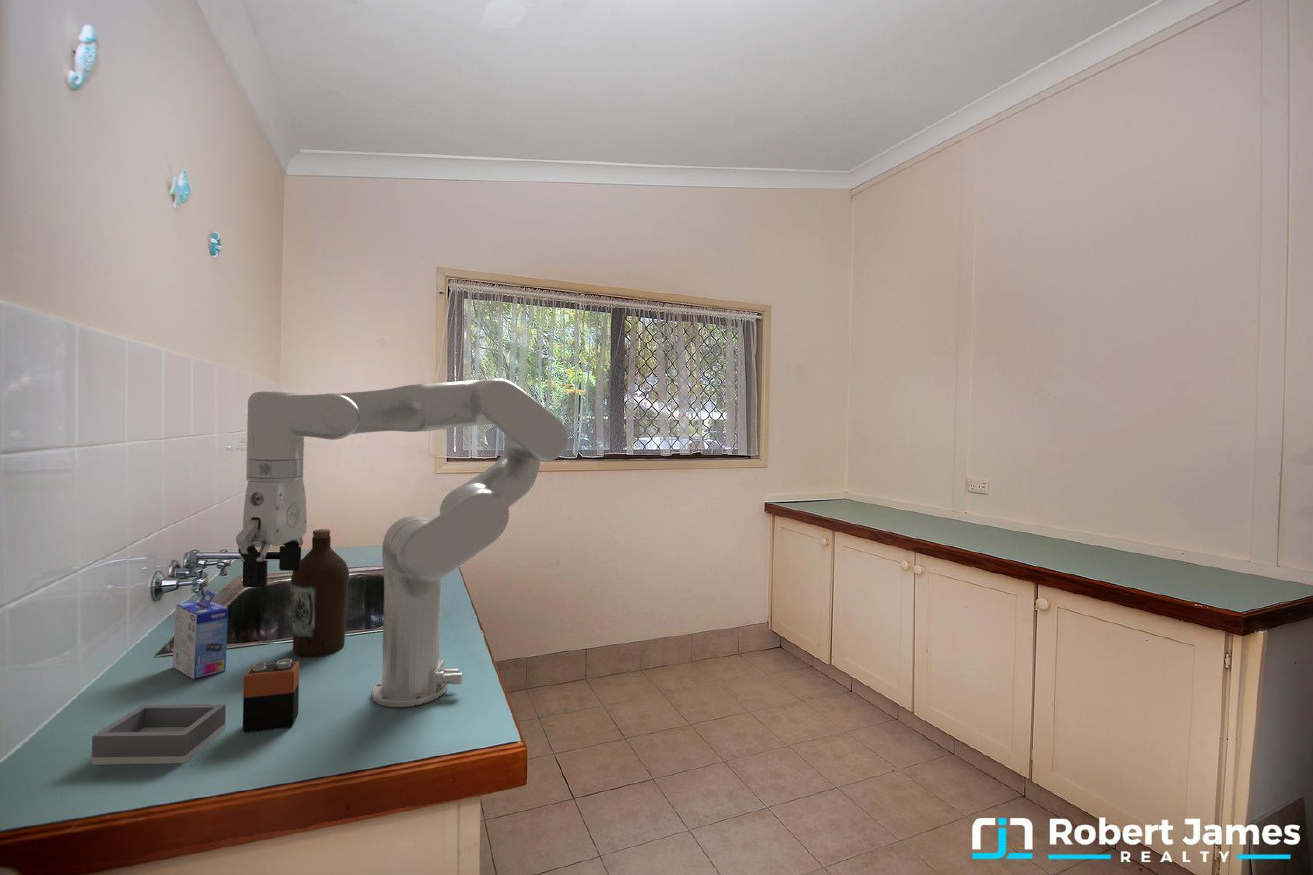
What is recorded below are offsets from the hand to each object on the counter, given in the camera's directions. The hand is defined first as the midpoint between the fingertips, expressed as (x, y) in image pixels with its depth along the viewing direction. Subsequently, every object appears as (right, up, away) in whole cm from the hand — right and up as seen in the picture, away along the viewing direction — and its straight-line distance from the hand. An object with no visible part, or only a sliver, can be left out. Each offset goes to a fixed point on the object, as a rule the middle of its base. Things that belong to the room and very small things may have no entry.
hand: (273, 578), depth 93 cm
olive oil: (-10, -22, +31) cm, 39 cm away
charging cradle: (-12, -23, -7) cm, 27 cm away
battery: (-1, -24, +1) cm, 24 cm away
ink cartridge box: (-26, -22, +19) cm, 39 cm away
